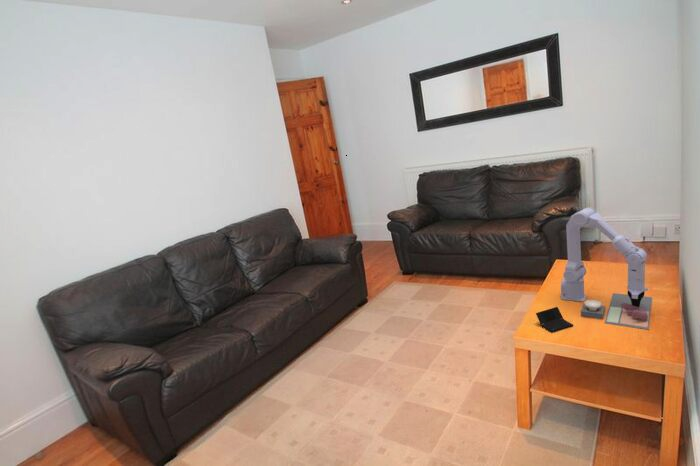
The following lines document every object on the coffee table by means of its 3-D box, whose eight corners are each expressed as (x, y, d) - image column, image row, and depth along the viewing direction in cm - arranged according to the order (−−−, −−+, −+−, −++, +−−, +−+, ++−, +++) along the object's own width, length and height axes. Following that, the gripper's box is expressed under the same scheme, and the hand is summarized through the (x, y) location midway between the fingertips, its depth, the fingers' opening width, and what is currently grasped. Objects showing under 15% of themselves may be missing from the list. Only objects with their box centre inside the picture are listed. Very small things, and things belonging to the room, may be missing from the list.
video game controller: (633, 321, 154) (652, 321, 153) (633, 311, 153) (652, 310, 152) (619, 312, 163) (636, 311, 163) (619, 302, 163) (637, 301, 162)
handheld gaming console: (556, 331, 156) (544, 308, 160) (543, 336, 162) (533, 313, 166) (576, 326, 160) (564, 303, 164) (563, 330, 166) (552, 308, 170)
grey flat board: (604, 323, 158) (604, 322, 158) (613, 293, 180) (613, 292, 180) (648, 329, 149) (648, 329, 149) (652, 297, 170) (652, 297, 170)
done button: (583, 312, 166) (583, 304, 165) (586, 306, 170) (585, 299, 169) (600, 314, 162) (600, 306, 161) (602, 308, 166) (602, 300, 165)
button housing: (580, 316, 166) (580, 311, 165) (584, 308, 172) (583, 303, 171) (602, 319, 161) (602, 314, 160) (605, 311, 167) (605, 305, 166)
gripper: (647, 285, 151) (646, 316, 154) (649, 271, 161) (648, 301, 165) (625, 283, 155) (625, 313, 159) (628, 270, 166) (628, 298, 169)
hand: (635, 307), depth 162 cm, fingers closed
